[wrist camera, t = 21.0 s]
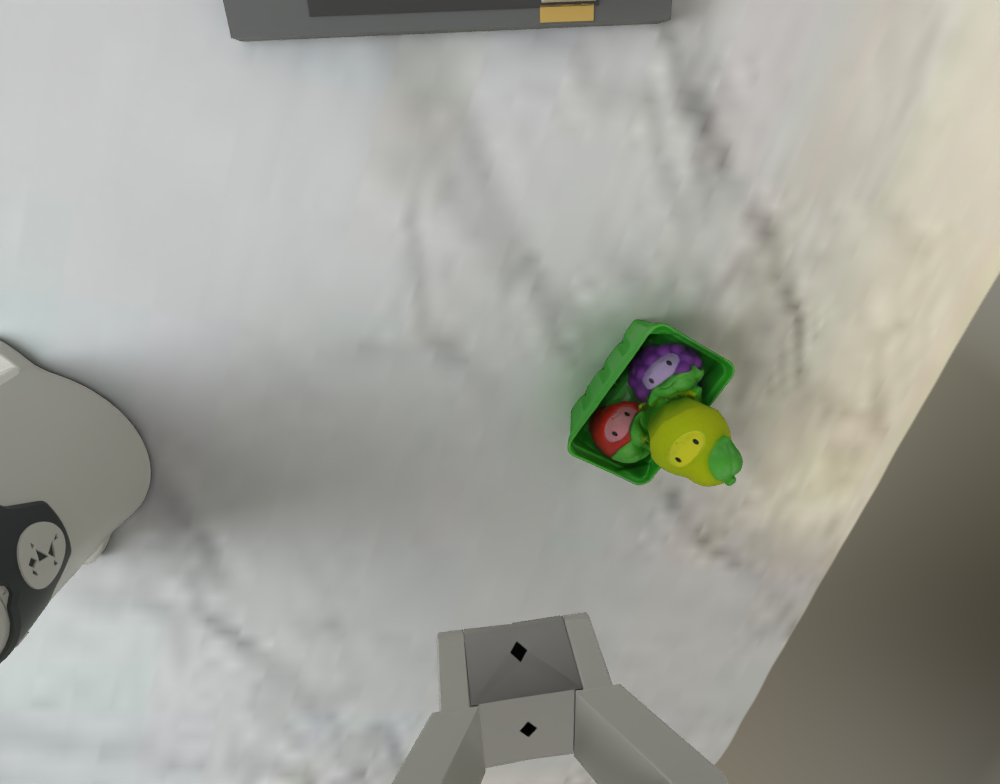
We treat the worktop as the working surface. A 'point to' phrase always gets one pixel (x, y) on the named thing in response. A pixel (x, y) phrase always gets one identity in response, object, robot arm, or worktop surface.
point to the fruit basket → (657, 410)
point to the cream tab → (562, 0)
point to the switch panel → (426, 16)
